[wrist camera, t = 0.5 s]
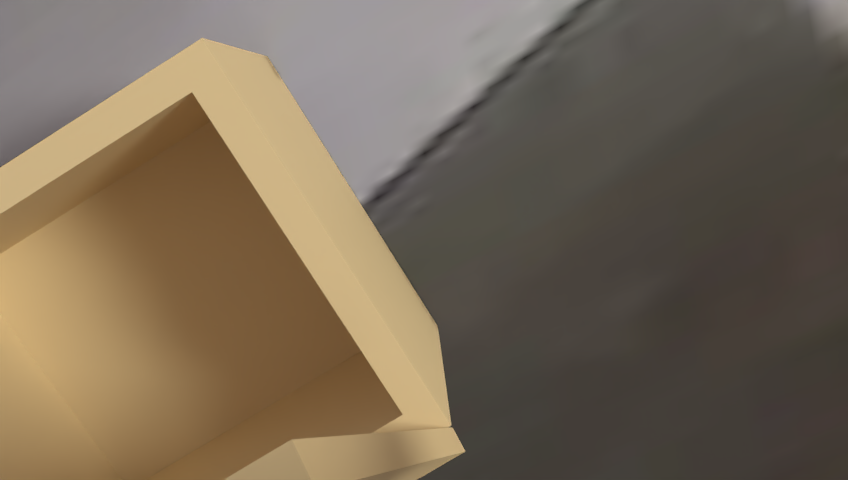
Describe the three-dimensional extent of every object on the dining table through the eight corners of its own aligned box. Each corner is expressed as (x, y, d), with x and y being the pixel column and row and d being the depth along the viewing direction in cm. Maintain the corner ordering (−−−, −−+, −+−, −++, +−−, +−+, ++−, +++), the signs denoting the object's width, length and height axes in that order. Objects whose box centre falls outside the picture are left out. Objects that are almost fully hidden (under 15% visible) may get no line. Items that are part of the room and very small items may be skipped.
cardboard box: (437, 326, 26) (451, 425, 18) (131, 508, 27) (19, 677, 19) (267, 56, 25) (202, 37, 17) (-53, 259, 25) (-258, 332, 18)
